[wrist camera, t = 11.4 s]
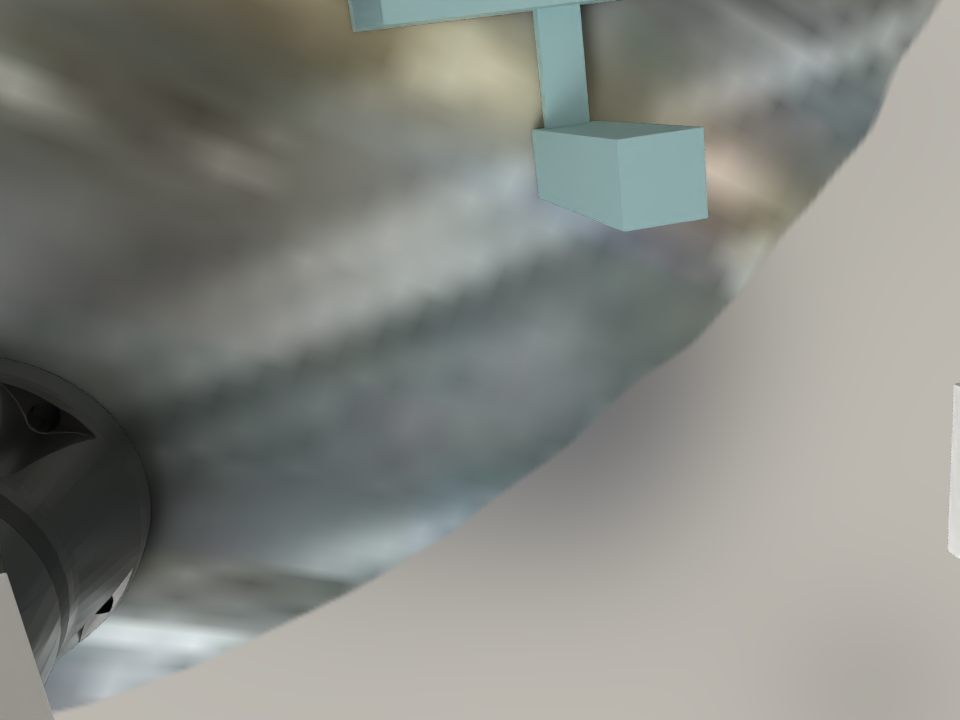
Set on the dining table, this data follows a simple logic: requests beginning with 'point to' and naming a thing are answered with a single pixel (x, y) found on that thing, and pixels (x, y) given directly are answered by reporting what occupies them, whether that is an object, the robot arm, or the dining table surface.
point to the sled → (579, 122)
